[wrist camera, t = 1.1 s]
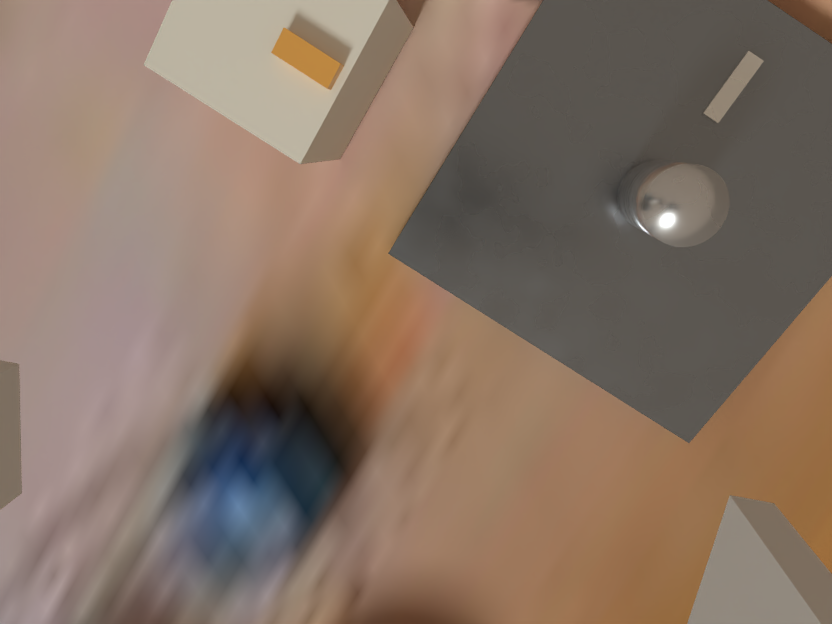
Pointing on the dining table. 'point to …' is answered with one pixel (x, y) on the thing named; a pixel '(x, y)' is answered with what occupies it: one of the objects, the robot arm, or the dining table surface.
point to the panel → (566, 186)
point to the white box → (283, 65)
